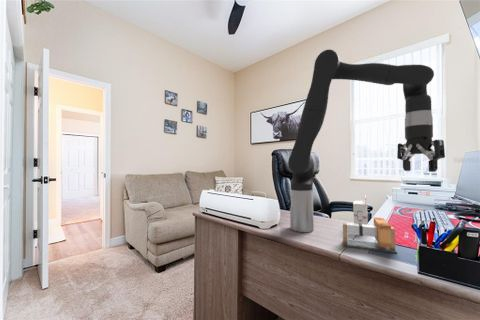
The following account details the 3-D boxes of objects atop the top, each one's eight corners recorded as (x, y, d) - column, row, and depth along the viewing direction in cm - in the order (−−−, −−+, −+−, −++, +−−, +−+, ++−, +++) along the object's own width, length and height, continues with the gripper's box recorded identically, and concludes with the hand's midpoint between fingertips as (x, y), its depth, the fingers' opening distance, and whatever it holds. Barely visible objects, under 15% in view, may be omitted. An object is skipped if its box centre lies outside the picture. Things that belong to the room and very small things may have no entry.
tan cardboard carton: (380, 246, 65) (379, 225, 65) (374, 236, 75) (373, 217, 75) (391, 248, 64) (390, 226, 64) (384, 237, 73) (383, 218, 74)
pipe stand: (343, 246, 71) (342, 225, 72) (342, 240, 77) (342, 221, 77) (397, 253, 65) (396, 230, 65) (392, 246, 71) (391, 225, 71)
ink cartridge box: (354, 226, 94) (353, 193, 95) (367, 228, 92) (366, 194, 92) (353, 231, 87) (352, 196, 87) (367, 233, 84) (366, 196, 85)
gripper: (391, 128, 80) (391, 170, 80) (432, 120, 66) (433, 172, 66) (407, 129, 82) (408, 170, 82) (450, 121, 68) (451, 171, 68)
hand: (419, 171), depth 74 cm, fingers open, 8 cm apart
